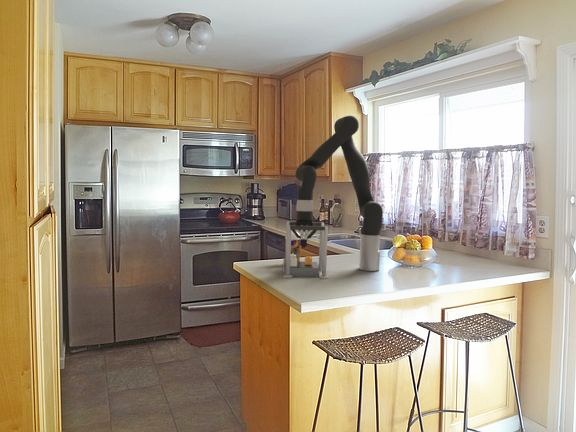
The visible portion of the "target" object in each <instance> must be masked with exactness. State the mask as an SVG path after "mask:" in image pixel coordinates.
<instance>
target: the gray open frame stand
mask: <svg viewBox="0 0 576 432" xmlns="http://www.w3.org/2000/svg"><path fill="white" fill-rule="evenodd" d="M295 222H296V221H286V229H285V231H286V233H285V237H286V249H285V259H286V275H283V274H282V275H283V278H287V279H289V278H290V279H291V278H293V276H292V275H290V256H291V231H292V230H295V231H299V230H310V231H313V230H317V231H319V246H318V249H319V250H318V266H319V272H321V274H319V277H318V278H319V279H324V280H326V279H329V275H327V261H328V260H327V259H328V258H327V257H328V235H329V234H328V230H329V229H328V228H329V226H325V223H324V222H322V221H321V222H320V221H319V222H315V221H313V224H314V226H293V225H295Z"/></svg>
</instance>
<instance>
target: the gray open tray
mask: <svg viewBox="0 0 576 432" xmlns="http://www.w3.org/2000/svg"><path fill="white" fill-rule="evenodd" d="M282 259H283V260H282V275H286V257H283V258H282ZM290 275H292V277H297V278H298V277H301V278H302V277H303V278H305V277H306V278H319V276H320V271H319V263H318V262H317V261H312V265H307V264H305V261H297V266H290Z"/></svg>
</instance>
